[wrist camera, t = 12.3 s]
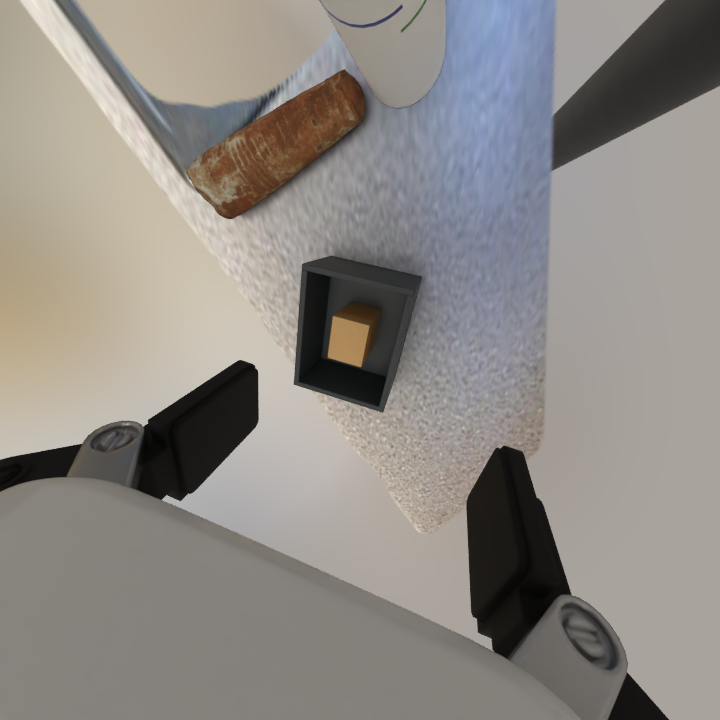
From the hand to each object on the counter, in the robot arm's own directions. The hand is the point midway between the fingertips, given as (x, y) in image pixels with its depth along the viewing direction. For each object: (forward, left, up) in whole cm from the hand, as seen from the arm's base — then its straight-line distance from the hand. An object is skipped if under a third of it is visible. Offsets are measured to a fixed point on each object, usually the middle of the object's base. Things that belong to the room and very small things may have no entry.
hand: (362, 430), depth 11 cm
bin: (+5, -6, -26) cm, 27 cm away
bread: (-12, -18, -26) cm, 33 cm away
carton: (+5, -6, -25) cm, 26 cm away
